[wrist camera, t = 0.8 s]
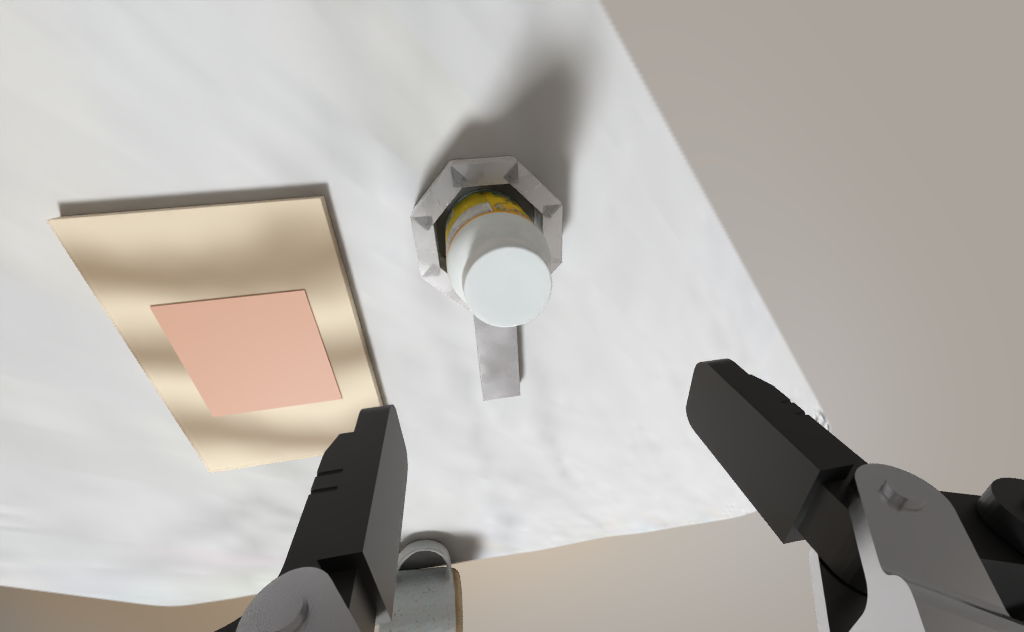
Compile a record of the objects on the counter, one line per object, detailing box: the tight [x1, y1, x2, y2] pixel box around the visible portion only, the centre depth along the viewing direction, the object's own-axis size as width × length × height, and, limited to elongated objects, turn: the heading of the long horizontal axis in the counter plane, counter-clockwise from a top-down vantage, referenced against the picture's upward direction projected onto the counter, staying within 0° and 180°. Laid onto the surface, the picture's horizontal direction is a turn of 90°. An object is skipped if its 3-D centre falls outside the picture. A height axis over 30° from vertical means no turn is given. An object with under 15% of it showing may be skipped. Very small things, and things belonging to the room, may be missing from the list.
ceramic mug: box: [378, 539, 463, 632], centre depth 38 cm, size 11×8×8 cm
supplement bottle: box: [445, 189, 552, 327], centre depth 21 cm, size 5×5×10 cm
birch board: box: [47, 196, 383, 473], centre depth 26 cm, size 20×14×1 cm
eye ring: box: [410, 156, 563, 401], centre depth 26 cm, size 18×9×2 cm, turn 3°
